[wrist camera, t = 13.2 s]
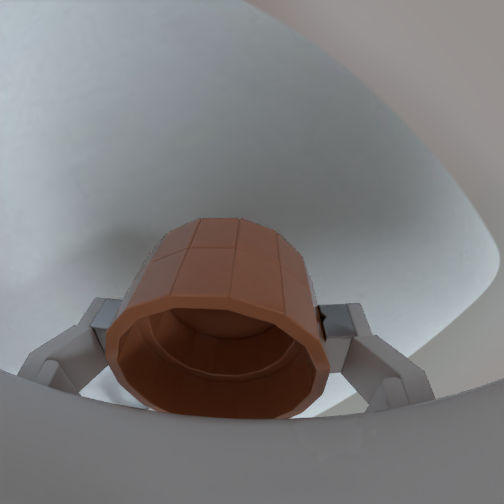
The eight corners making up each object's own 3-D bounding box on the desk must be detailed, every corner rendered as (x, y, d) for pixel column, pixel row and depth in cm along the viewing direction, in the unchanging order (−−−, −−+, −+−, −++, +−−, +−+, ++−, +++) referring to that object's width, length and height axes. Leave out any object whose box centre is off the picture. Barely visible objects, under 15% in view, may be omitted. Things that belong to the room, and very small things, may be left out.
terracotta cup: (134, 212, 10) (72, 288, 6) (317, 211, 10) (350, 295, 6) (164, 338, 13) (140, 419, 9) (301, 342, 13) (310, 429, 9)
